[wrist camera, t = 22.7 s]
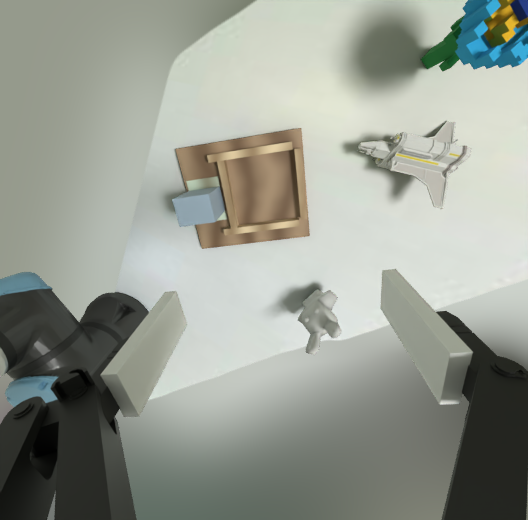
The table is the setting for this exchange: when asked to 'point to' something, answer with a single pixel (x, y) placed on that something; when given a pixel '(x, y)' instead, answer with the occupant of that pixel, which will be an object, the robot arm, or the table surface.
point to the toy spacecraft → (422, 158)
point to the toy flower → (485, 36)
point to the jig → (251, 187)
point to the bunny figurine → (319, 318)
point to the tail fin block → (199, 206)
